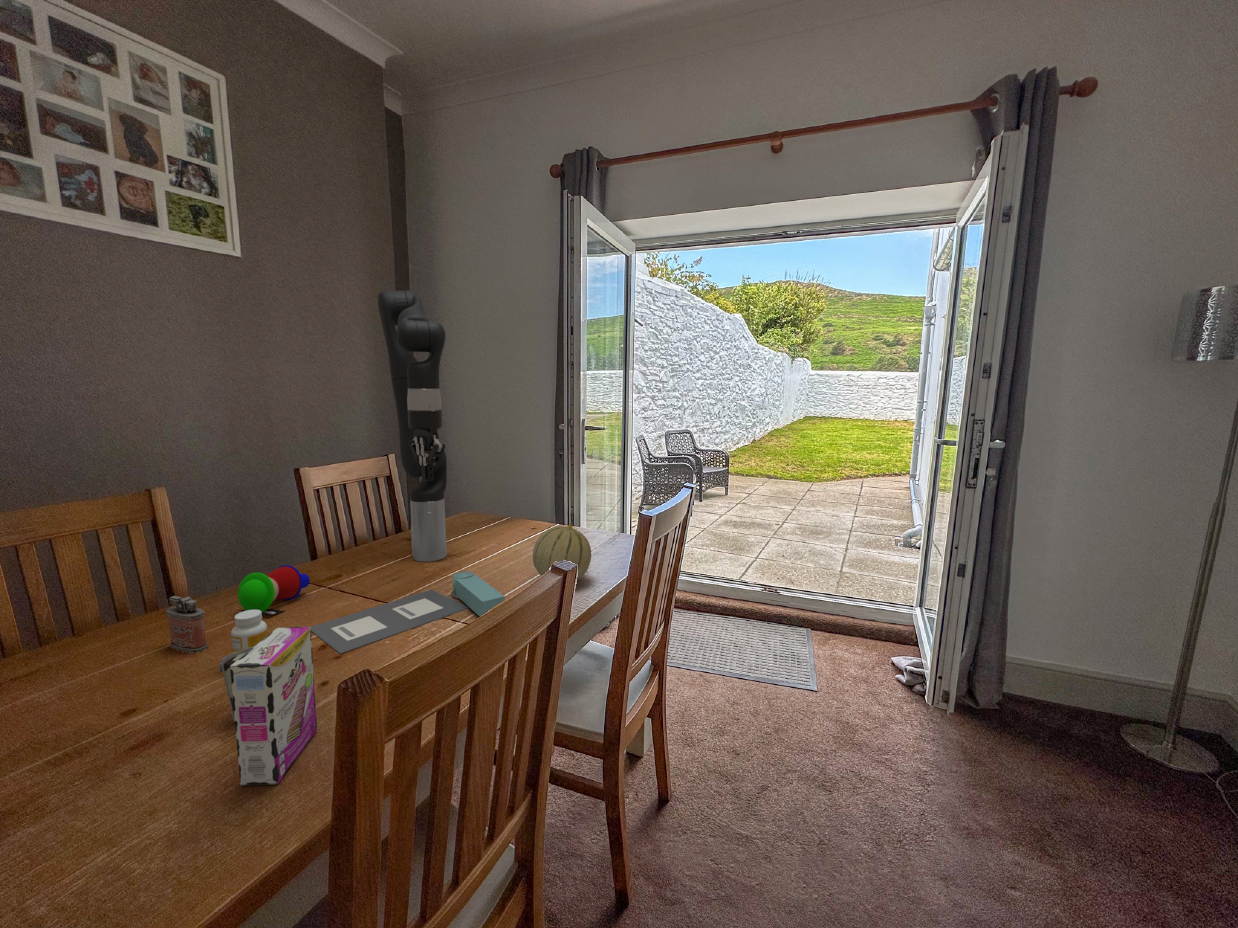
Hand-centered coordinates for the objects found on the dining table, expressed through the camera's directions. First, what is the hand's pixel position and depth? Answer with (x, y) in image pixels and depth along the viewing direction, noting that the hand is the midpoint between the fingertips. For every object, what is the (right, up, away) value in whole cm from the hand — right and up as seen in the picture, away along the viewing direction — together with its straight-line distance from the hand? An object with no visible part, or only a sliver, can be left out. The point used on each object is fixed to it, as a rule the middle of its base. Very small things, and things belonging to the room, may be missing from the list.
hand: (428, 480), depth 130 cm
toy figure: (-32, -28, -7) cm, 43 cm away
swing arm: (+13, -28, -6) cm, 31 cm away
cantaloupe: (+31, -27, +9) cm, 42 cm away
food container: (-7, -35, -46) cm, 58 cm away
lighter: (-36, -31, -26) cm, 55 cm away
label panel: (-3, -29, -13) cm, 32 cm away
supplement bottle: (-20, -32, -32) cm, 50 cm away
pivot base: (+9, -27, +1) cm, 29 cm away
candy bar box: (0, -36, -56) cm, 67 cm away
